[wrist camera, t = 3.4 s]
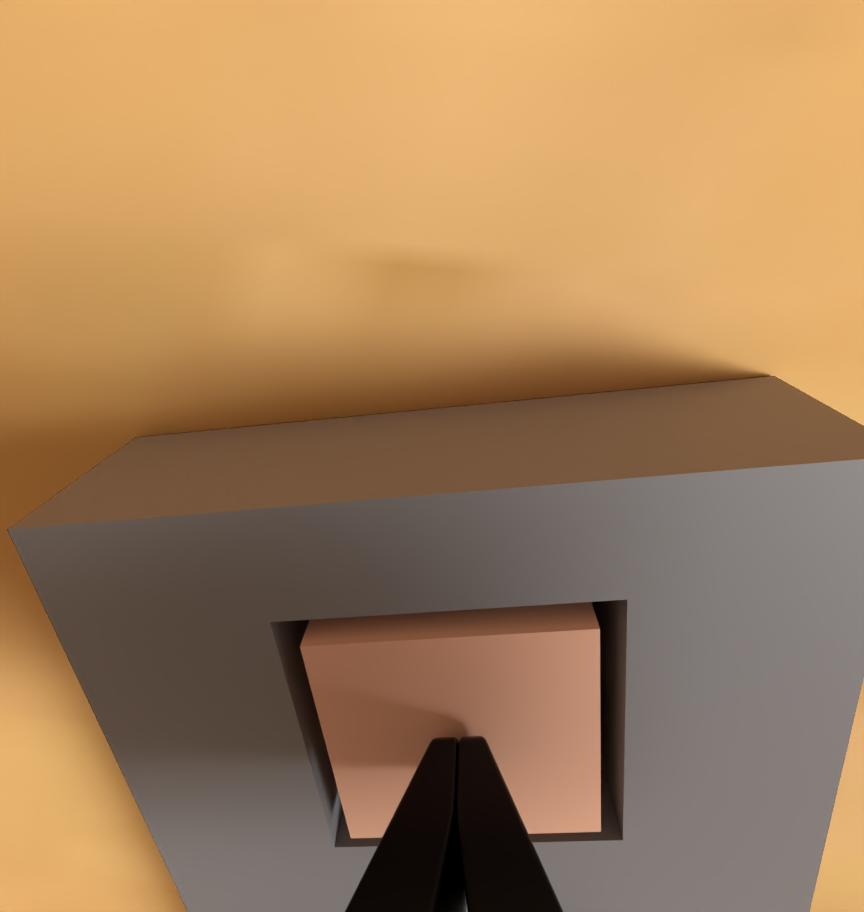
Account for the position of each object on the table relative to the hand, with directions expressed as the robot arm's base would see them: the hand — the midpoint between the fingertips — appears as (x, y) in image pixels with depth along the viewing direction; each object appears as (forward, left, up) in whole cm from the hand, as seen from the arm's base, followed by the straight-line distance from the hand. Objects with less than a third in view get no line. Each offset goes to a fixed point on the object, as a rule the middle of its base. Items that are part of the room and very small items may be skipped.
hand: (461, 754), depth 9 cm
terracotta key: (0, 0, -3) cm, 3 cm away
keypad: (0, -8, -4) cm, 9 cm away
